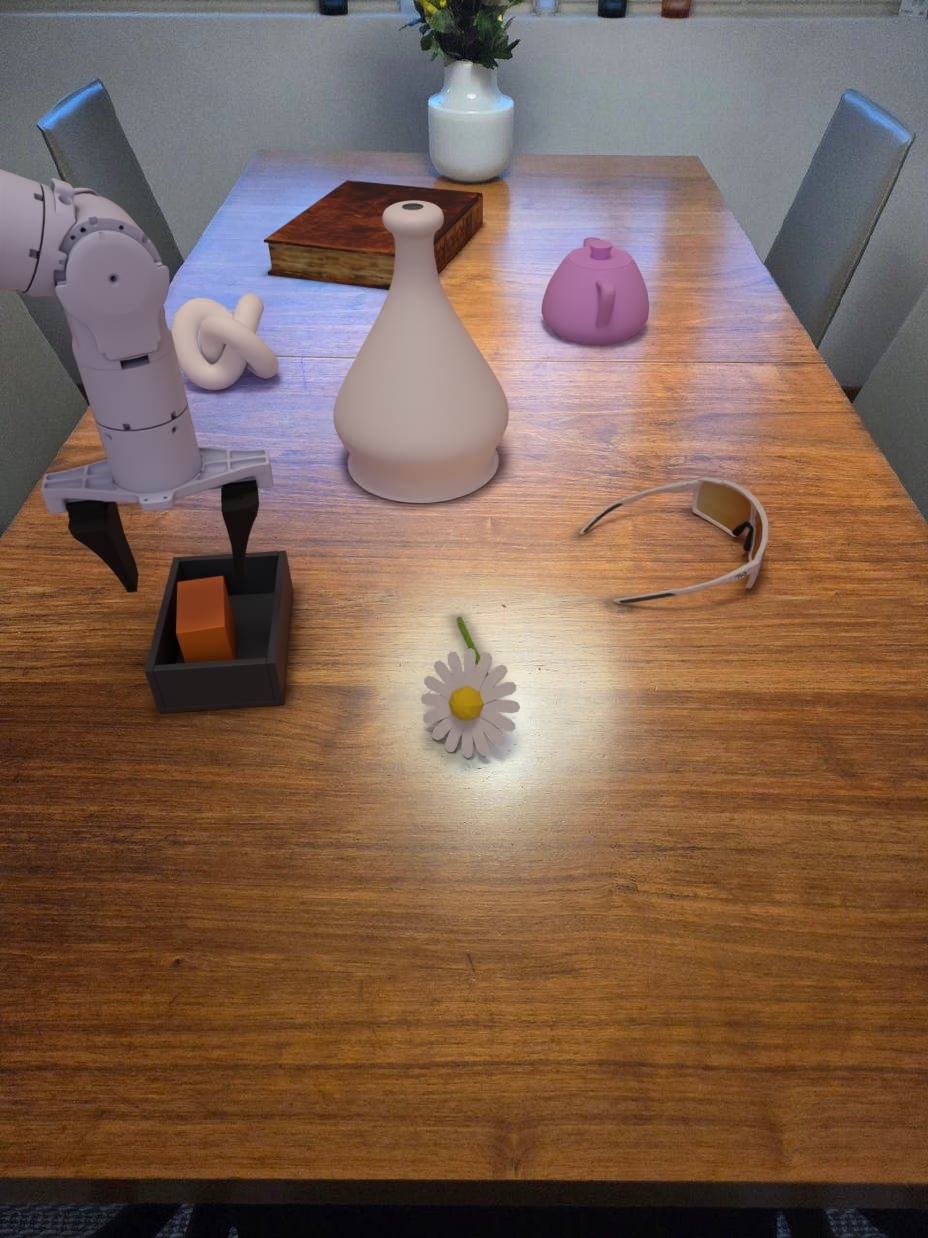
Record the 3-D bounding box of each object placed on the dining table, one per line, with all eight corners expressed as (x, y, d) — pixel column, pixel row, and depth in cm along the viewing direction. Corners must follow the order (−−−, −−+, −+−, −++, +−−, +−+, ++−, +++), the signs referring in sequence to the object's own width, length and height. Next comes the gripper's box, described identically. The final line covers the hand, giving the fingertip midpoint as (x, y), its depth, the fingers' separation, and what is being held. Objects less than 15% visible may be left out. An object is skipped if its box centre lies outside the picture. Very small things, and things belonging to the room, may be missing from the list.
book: (421, 293, 123) (419, 257, 120) (268, 274, 129) (262, 239, 125) (483, 225, 144) (483, 192, 141) (349, 211, 150) (346, 179, 146)
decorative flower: (436, 555, 67) (503, 692, 57) (492, 587, 71) (564, 719, 61) (374, 624, 70) (427, 766, 59) (431, 651, 74) (490, 788, 63)
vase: (421, 531, 82) (408, 259, 65) (304, 462, 91) (267, 207, 74) (541, 458, 91) (557, 204, 74) (425, 402, 100) (415, 164, 83)
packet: (190, 680, 67) (175, 633, 64) (191, 628, 71) (177, 581, 68) (237, 673, 67) (224, 625, 64) (234, 622, 72) (223, 575, 68)
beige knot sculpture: (309, 373, 105) (299, 300, 99) (231, 412, 98) (215, 336, 92) (247, 348, 111) (234, 276, 105) (169, 383, 104) (150, 309, 98)
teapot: (634, 293, 123) (644, 213, 116) (657, 357, 108) (670, 270, 101) (535, 293, 123) (539, 213, 116) (545, 357, 108) (550, 271, 101)
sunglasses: (792, 594, 74) (799, 548, 71) (622, 637, 74) (621, 593, 70) (723, 501, 85) (726, 457, 81) (573, 538, 84) (570, 496, 81)
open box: (159, 713, 65) (144, 671, 62) (185, 598, 75) (173, 556, 72) (284, 705, 66) (274, 662, 63) (293, 591, 75) (286, 550, 72)
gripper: (8, 454, 51) (78, 627, 60) (261, 426, 53) (291, 596, 62) (25, 397, 56) (87, 564, 65) (256, 374, 58) (284, 538, 67)
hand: (187, 576), depth 64 cm, fingers open, 7 cm apart
